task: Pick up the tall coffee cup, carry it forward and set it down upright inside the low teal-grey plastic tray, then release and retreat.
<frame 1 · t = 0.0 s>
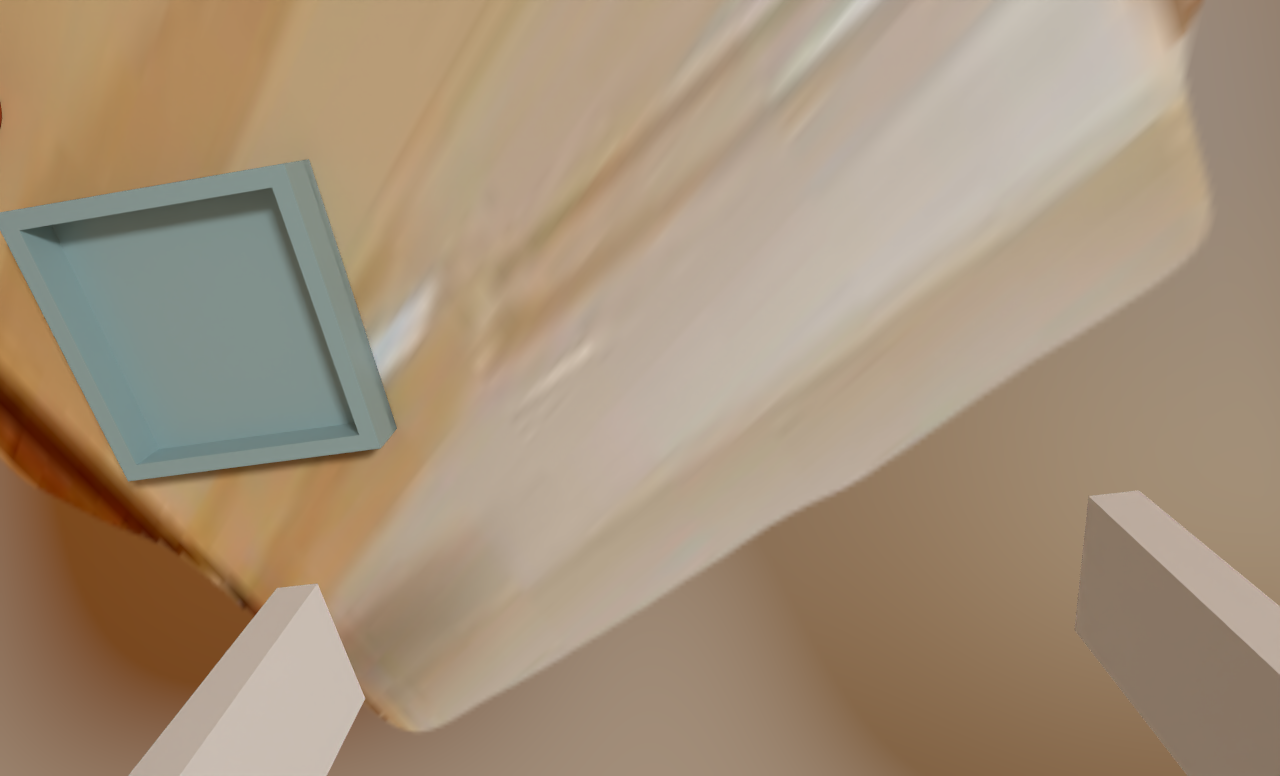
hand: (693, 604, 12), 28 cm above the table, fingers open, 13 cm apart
tray: (226, 324, 40), on the table
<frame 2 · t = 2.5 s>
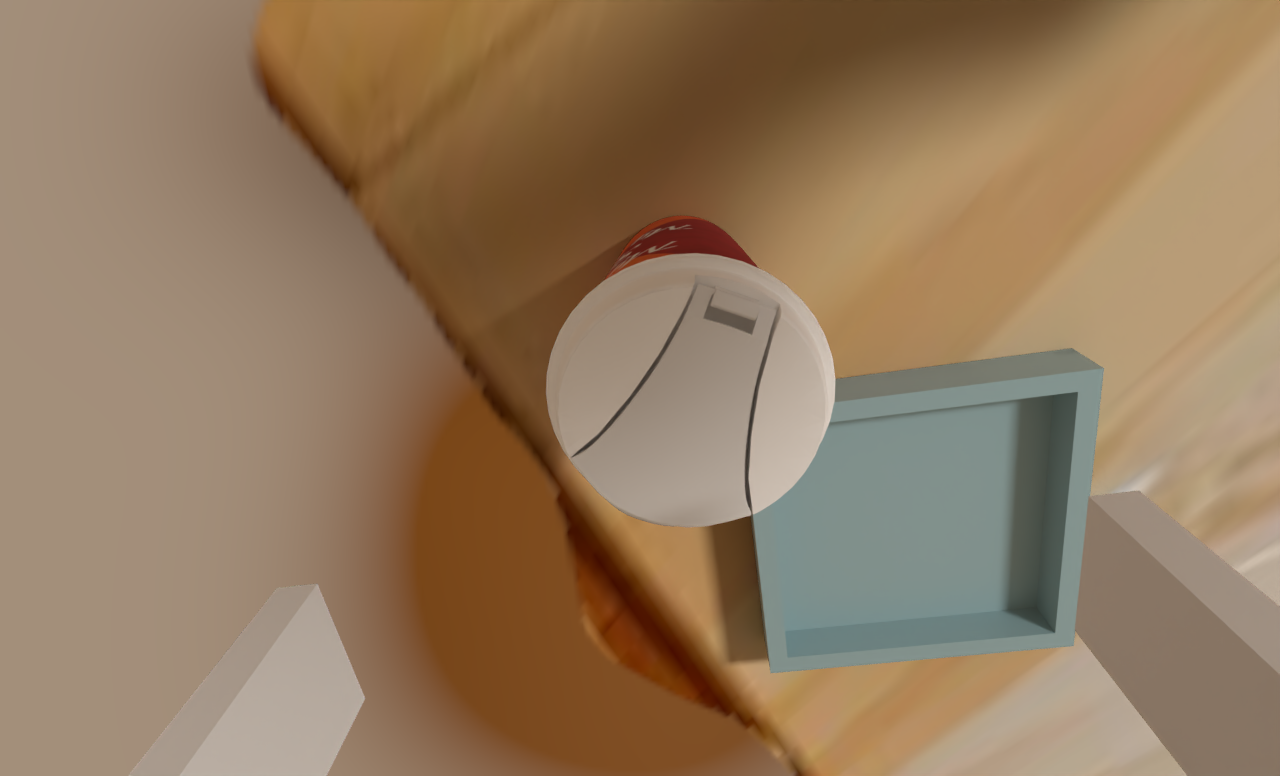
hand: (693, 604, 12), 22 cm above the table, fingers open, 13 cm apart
tray: (902, 508, 37), on the table
coffee cup: (680, 279, 32), on the table
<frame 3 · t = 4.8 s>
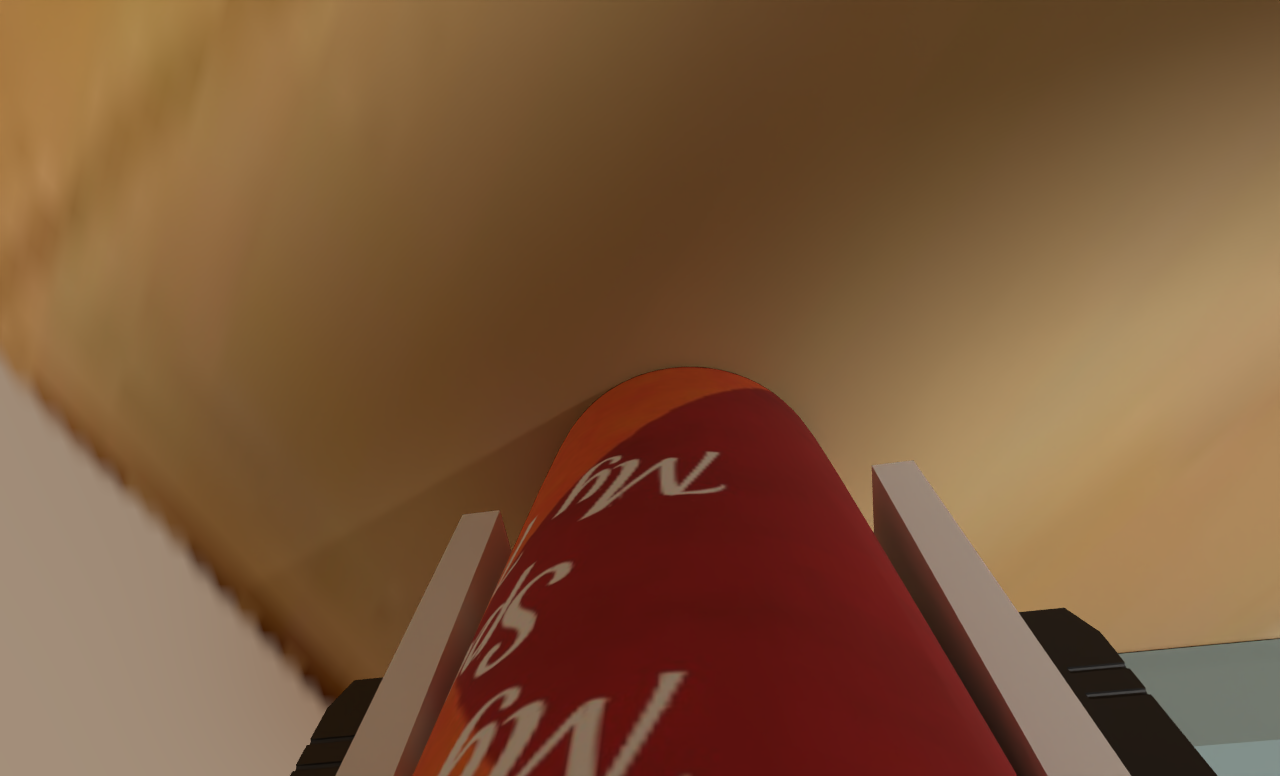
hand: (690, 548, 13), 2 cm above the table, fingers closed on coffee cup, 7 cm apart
coffee cup: (686, 487, 16), on the table, touching gripper
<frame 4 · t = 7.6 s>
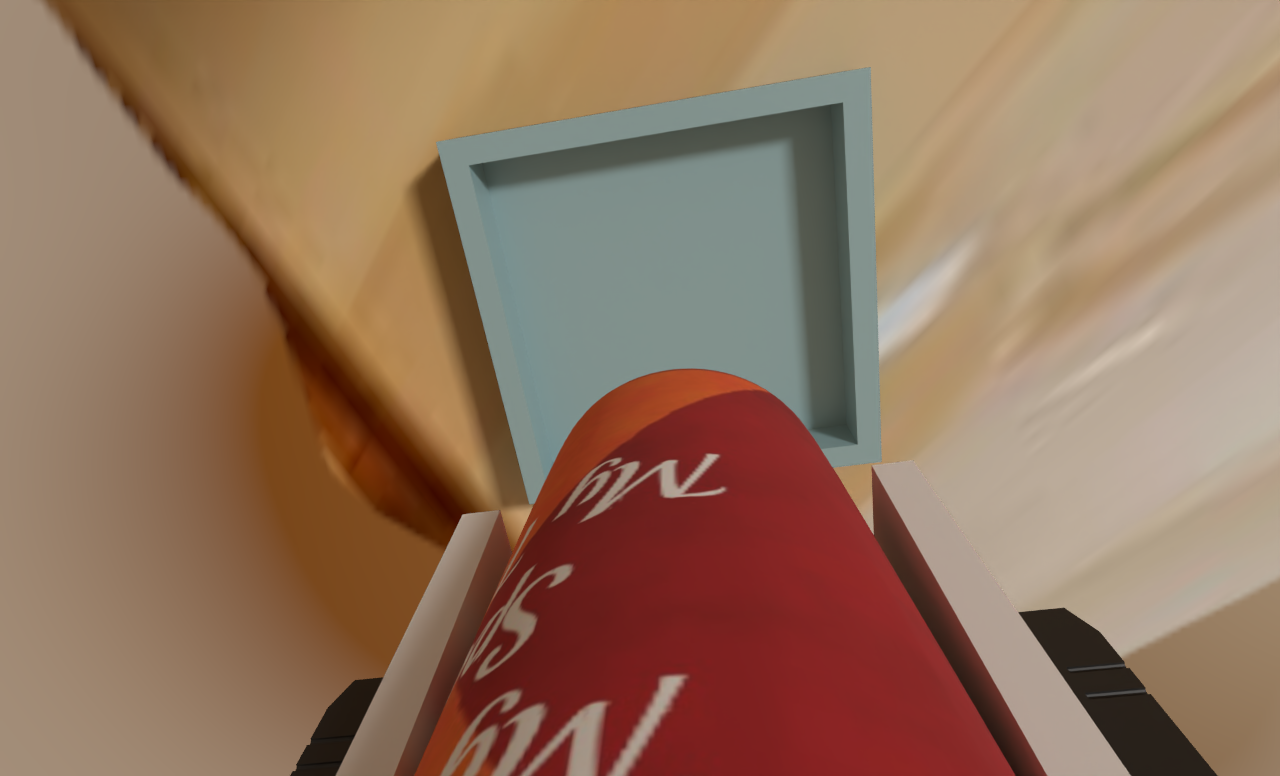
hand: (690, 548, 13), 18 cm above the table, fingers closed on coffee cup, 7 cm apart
tray: (676, 298, 30), on the table
coffee cup: (686, 488, 16), point 16 cm above the table, touching gripper
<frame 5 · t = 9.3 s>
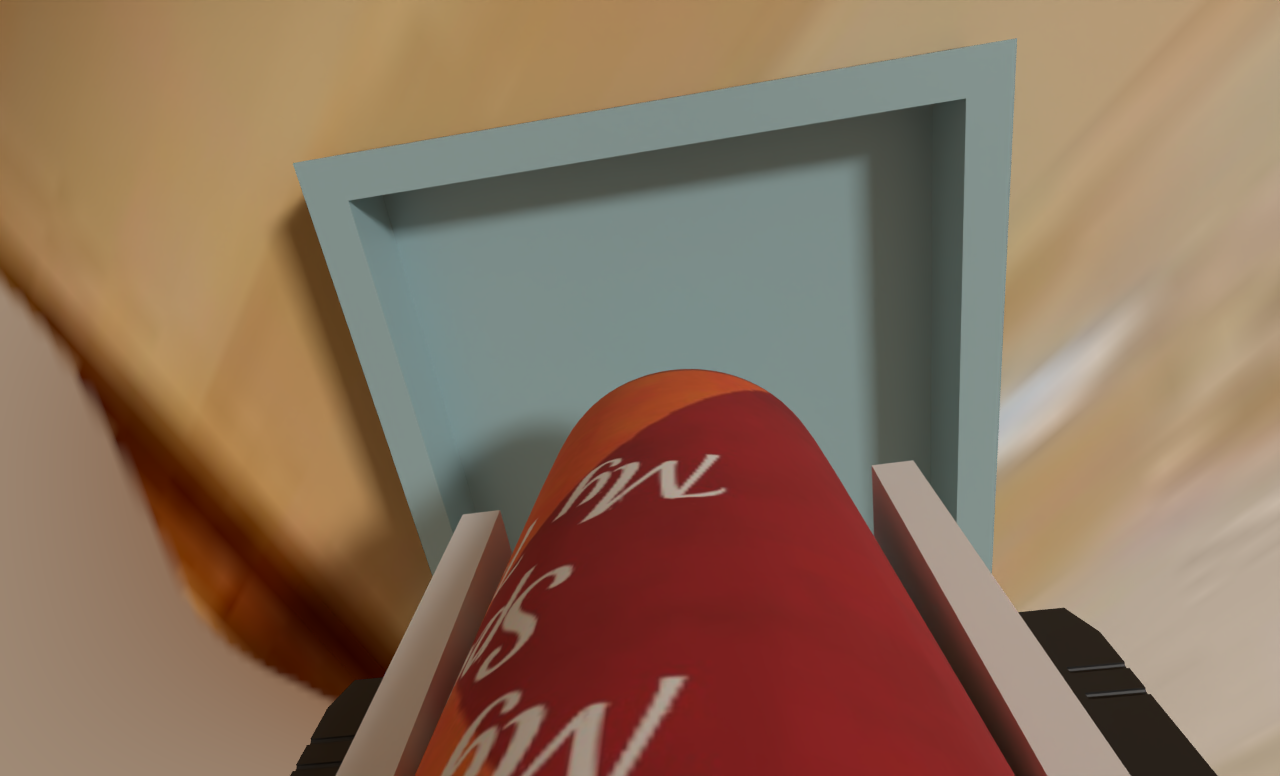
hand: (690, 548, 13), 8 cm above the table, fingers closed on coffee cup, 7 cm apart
tray: (683, 390, 20), on the table
coffee cup: (686, 488, 16), point 5 cm above the table, touching gripper
when the fingers open (4 cm above the table, at t = 10.6 s): coffee cup stays where it is, resting on tray.
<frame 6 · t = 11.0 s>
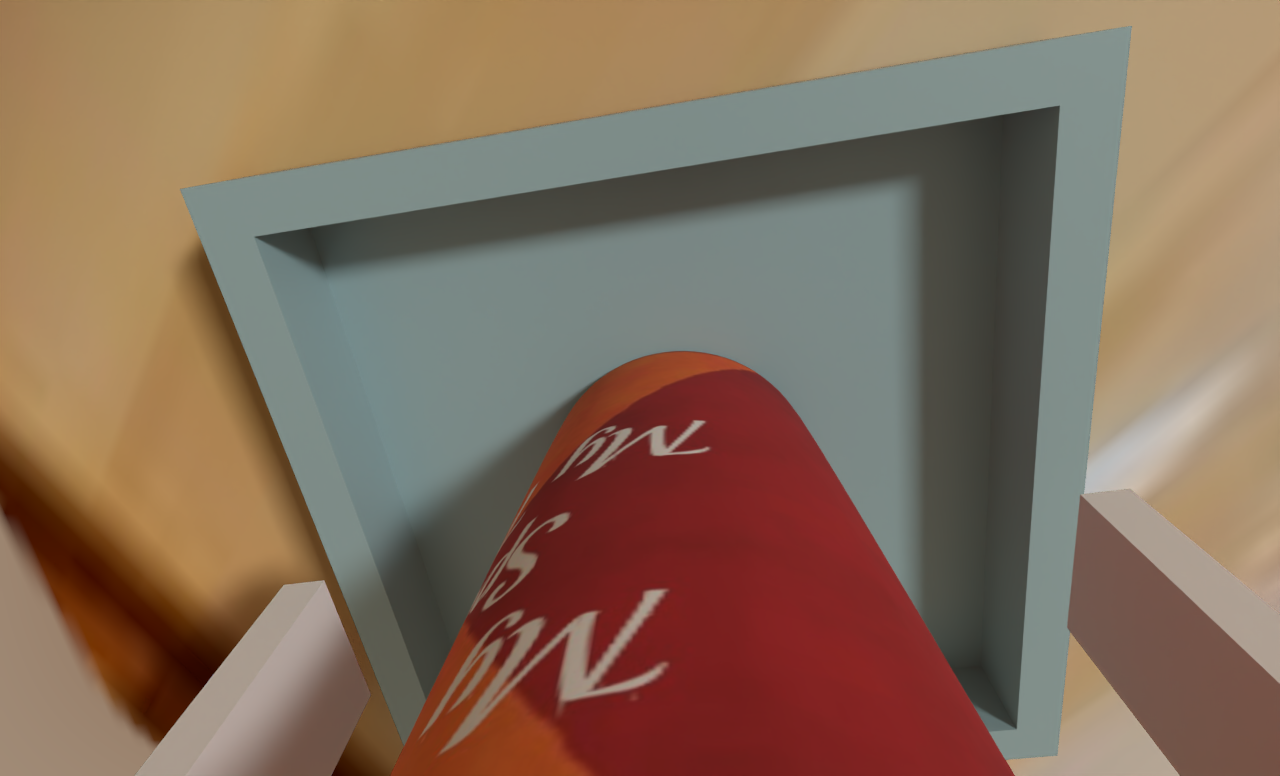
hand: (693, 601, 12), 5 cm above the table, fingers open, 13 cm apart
tray: (685, 457, 17), on the table
coffee cup: (680, 466, 16), resting on tray
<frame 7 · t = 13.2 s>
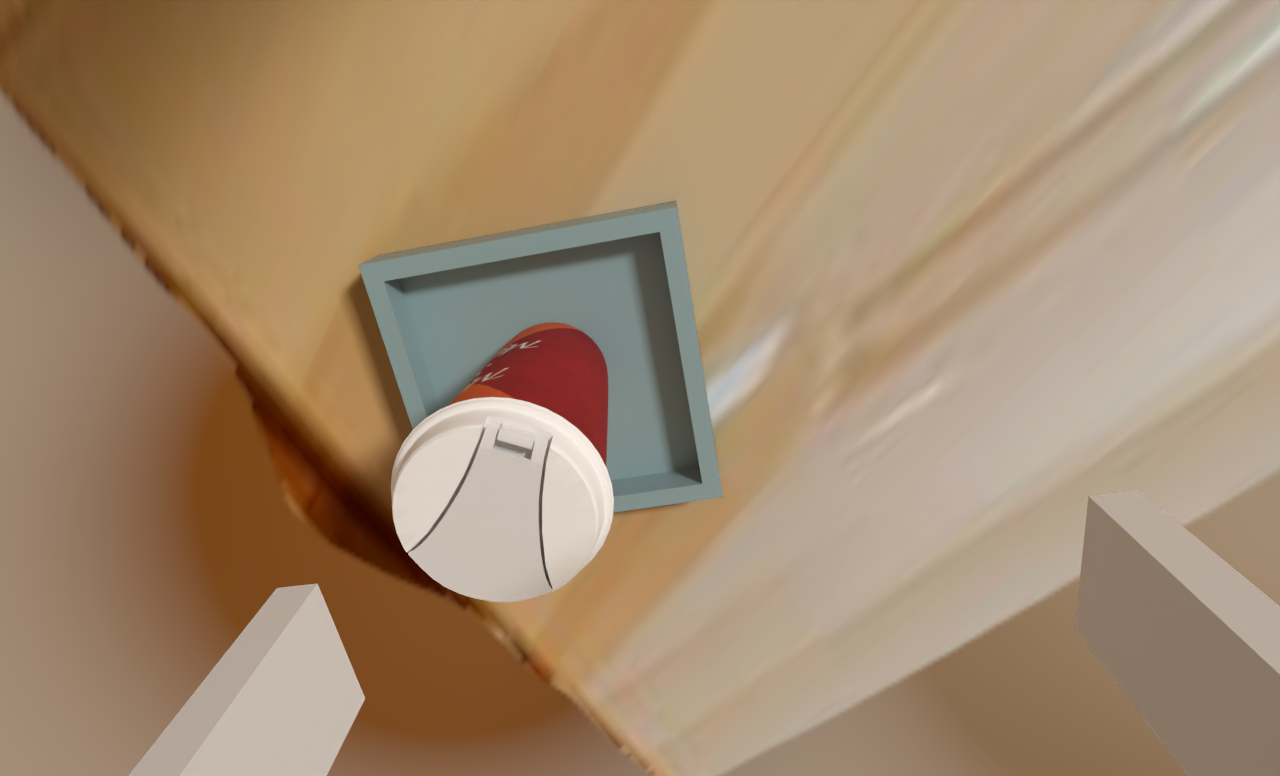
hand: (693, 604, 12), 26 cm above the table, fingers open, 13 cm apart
tray: (558, 371, 39), on the table
coffee cup: (554, 373, 38), resting on tray
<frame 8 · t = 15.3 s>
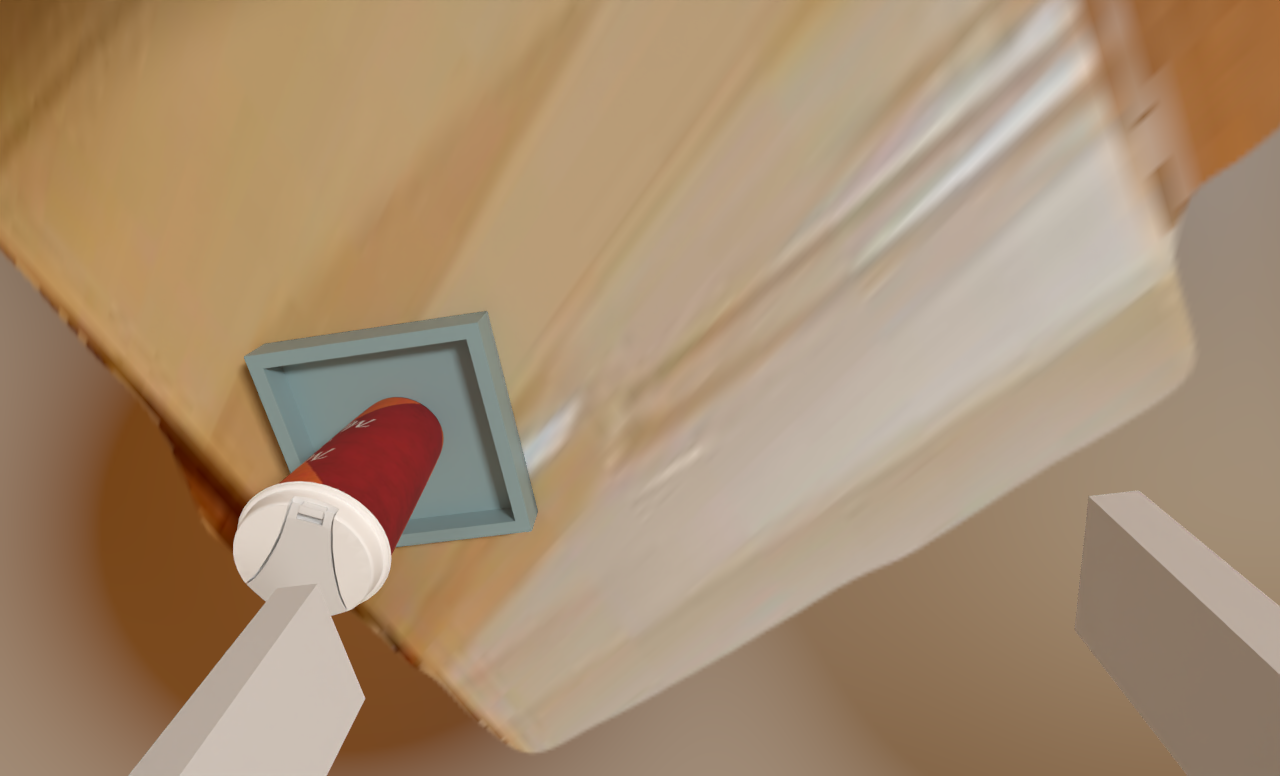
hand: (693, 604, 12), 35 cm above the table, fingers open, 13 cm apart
tray: (407, 431, 50), on the table
coffee cup: (403, 433, 50), resting on tray
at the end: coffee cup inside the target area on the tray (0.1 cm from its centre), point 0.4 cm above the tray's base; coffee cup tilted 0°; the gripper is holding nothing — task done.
